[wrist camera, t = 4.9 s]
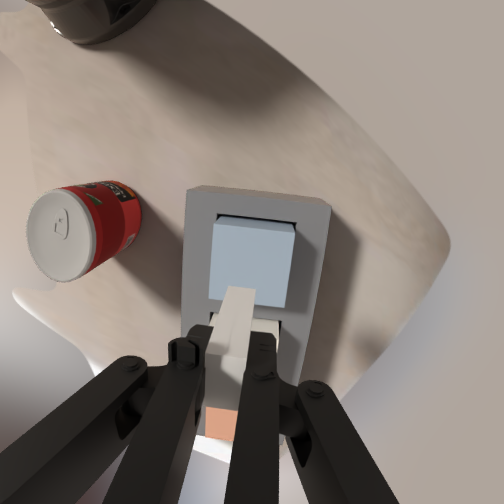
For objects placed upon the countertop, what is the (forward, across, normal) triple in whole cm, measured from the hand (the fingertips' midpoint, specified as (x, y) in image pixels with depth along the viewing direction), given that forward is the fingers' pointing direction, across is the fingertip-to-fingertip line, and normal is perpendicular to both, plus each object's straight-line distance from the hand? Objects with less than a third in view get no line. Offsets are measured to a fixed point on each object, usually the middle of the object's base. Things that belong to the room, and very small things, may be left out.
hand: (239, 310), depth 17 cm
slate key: (+12, 0, 0) cm, 12 cm away
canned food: (+16, -16, +1) cm, 23 cm away
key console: (+16, 0, -9) cm, 18 cm away
